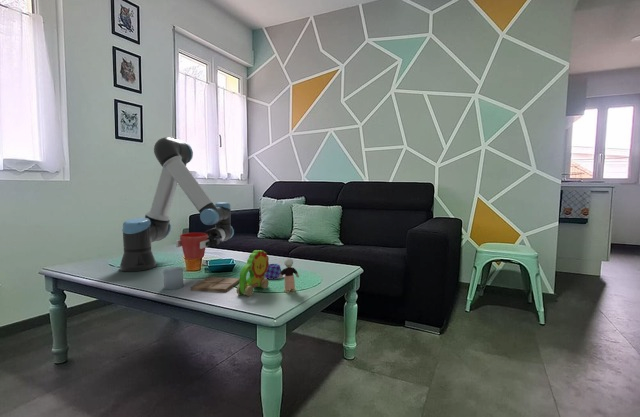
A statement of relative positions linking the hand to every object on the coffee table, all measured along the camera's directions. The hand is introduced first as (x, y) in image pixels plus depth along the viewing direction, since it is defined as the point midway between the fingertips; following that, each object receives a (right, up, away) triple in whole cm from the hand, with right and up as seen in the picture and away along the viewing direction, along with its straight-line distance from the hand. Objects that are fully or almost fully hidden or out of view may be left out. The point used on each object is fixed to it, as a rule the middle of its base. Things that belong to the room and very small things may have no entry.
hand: (188, 244), depth 136 cm
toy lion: (+29, -16, -10) cm, 35 cm away
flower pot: (+1, -6, +5) cm, 8 cm away
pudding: (+33, -15, +9) cm, 38 cm away
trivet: (+13, -16, -5) cm, 21 cm away
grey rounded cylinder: (-3, -16, -6) cm, 17 cm away
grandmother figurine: (+42, -16, -11) cm, 47 cm away
